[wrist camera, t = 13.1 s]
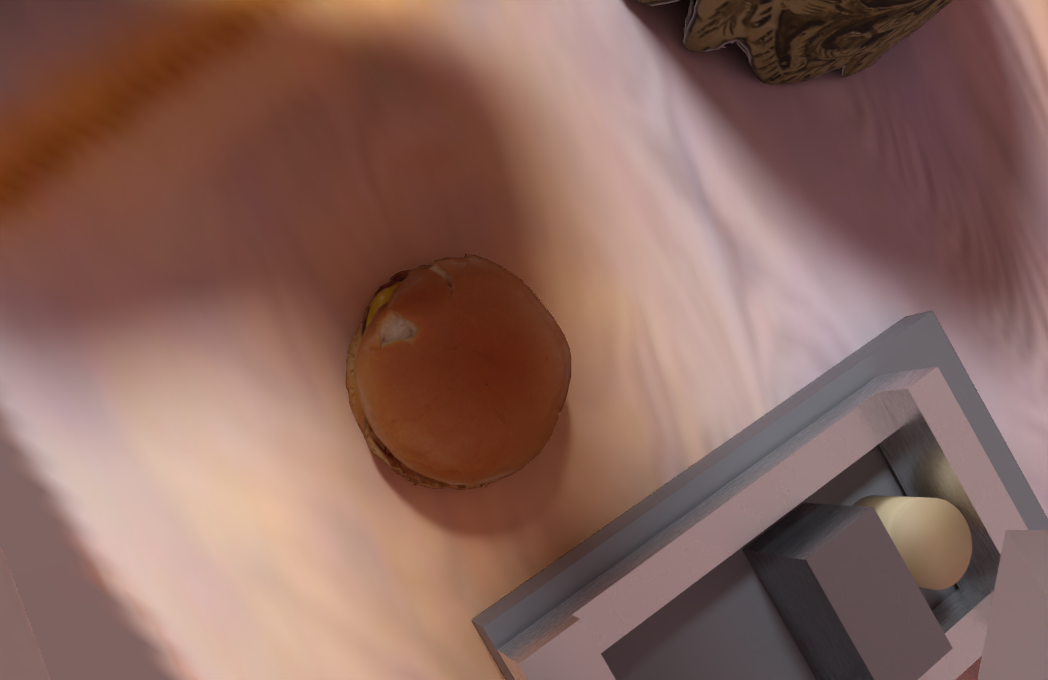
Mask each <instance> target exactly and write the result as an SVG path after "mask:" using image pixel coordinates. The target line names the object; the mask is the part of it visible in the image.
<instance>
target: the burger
mask: <svg viewBox="0 0 1048 680" xmlns="http://www.w3.org/2000/svg"><path fill="white" fill-rule="evenodd" d="M361 323H362V325H361V326H360V327H359V329H358V330H357V331H356V333H355V335H354V337H353V340H352V342H351V345H350V347H349V351H348V357H347V373H346V388H347V389H348V390H349V403H350V406H351V409H352V412H353V414H354V416H355V418H356V420H357V422H358V424H359V426H360V428H361V429H362V431H363V435H364V438H365V440H366V442H367V444H368V446H369V447H370V449H371V450H372V452H373V453H374V454H375V455H377V456H378V457H379V458H381V459H382V460H383V461H385V463H386V464H387V465H388V466H389V467H390V468H391V469H392V470H393V469H394V470H395V472H396V473H397V474H400V475H402V476H403V477H405V478H407V480H408V481H411V482H413V483H414V484H415V485H417V484H418V485H421V486H426V487H431V488H446V487H452V488H456V489H459V490H462V489H471V488H475V487H482V486H483V485H484V486H485V487H487V485H488V484H489V483H492V482H495V481H496V480H498V479H501V478H504V477H507V476H509V475H511V474H513V473H515V472H516V471H518V470H520V469H521V468H523V467H524V466H525V465H526V464H527V463H529V462H530V461H531V460H532V459H533V458H534V457H536V456H537V455H538V454H539V453H540V451H541V450H542V449H543V447H544V446H545V444H546V443H547V441H548V440H549V438H550V436H551V435H552V432H553V430H554V427H555V425H556V422H557V420H558V413H559V412H560V411H561V410H562V407H563V405H564V402H565V399H566V396H567V392H568V387H569V383H570V378H571V354H570V348H569V346H568V343H567V341H566V338H565V336H564V334H563V332H562V330H561V329H560V327H559V325H558V324H557V322H556V321H555V319H554V318H553V317H552V315H551V314H550V313H549V311H548V310H547V309H546V308H545V307H544V305H543V304H542V303H541V302H540V300H539V299H538V298H537V297H536V295H535V294H534V293H533V292H532V291H531V289H530V288H529V287H528V286H526V285H525V284H524V283H523V281H522V280H521V279H519V278H518V277H516V276H515V275H513V274H512V273H510V272H509V271H507V270H506V269H504V268H503V267H501V266H499V265H497V264H495V263H493V262H491V261H489V260H487V259H484V258H481V257H478V256H475V255H469V254H465V257H464V258H443V259H439V260H435V261H434V264H433V266H426V265H423V266H420V267H417V268H415V269H413V270H407V271H401V272H399V273H397V274H395V275H394V276H393V277H391V278H390V282H388V283H387V284H385V285H383V286H381V287H380V288H379V289H378V291H377V292H376V294H375V296H374V298H373V300H372V302H371V304H370V305H369V306H368V307H367V308H366V309H365V313H364V316H363V321H362V322H361Z"/></svg>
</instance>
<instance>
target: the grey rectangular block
mask: <svg viewBox="0 0 1048 680" xmlns="http://www.w3.org/2000/svg"><path fill="white" fill-rule="evenodd" d="M742 550H743V552H744V554H745V556H746V557H747V559H748V561H749V563H750V564H751V566H752V568H753V570H754V571H755V573H756V575H757V577H758V578H759V580H760V582H761V584H762V585H763V587H764V589H765V591H766V592H767V594H768V596H769V598H770V600H771V601H772V603H773V605H774V607H775V608H776V610H777V612H778V614H779V615H780V617H781V619H782V621H783V622H784V624H785V626H786V628H787V629H788V631H789V633H790V635H791V636H792V638H793V640H794V642H795V643H796V645H797V647H798V649H799V650H800V652H801V654H802V656H803V657H804V659H805V661H806V663H807V665H808V666H809V668H810V670H811V672H812V673H813V675H814V677H815V679H817V680H918V679H919V678H920V677H921V676H922V675H923V674H925V673H926V672H927V671H928V670H929V669H930V668H931V667H932V666H934V665H935V664H936V663H937V662H938V661H939V660H940V659H941V658H943V657H944V656H945V655H946V654H947V653H948V652H949V651H950V650H951V649H953V648H952V646H951V644H950V642H949V640H948V639H947V637H946V635H945V633H944V632H943V630H942V628H941V626H940V624H939V623H938V621H937V619H936V617H935V616H934V614H933V612H932V610H931V608H930V607H929V605H928V603H927V601H926V600H925V598H924V596H923V594H922V592H921V591H920V589H919V587H918V585H917V583H916V582H915V580H914V578H913V576H912V575H911V573H910V571H909V569H908V567H907V566H906V564H905V562H904V560H903V559H902V557H901V555H900V553H899V551H898V550H897V548H896V546H895V544H894V543H893V541H892V539H891V537H890V535H889V534H888V532H887V530H886V528H885V526H884V525H883V523H882V521H881V519H880V518H879V516H878V514H877V512H876V510H875V509H874V507H863V506H847V505H831V504H815V503H803V504H802V505H801V506H799V507H798V508H797V509H795V510H794V511H793V512H791V513H790V514H789V515H787V516H786V517H785V518H783V519H782V520H781V521H779V522H778V523H777V524H775V525H774V526H773V527H771V528H770V529H769V530H767V531H766V532H765V533H763V534H762V535H761V536H760V537H758V538H757V539H756V540H754V541H753V542H752V543H750V544H749V545H748V546H746V547H745V548H744V549H742Z"/></svg>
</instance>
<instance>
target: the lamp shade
mask: <svg viewBox="0 0 1048 680" xmlns="http://www.w3.org/2000/svg"><path fill="white" fill-rule="evenodd" d="M638 1H640V2H642V3H644V4H647V5H650V6H656V5H660V4H667V3H673V2H676V1H679V0H638ZM951 1H952V0H697V1H696V4H695V6H694V13H693V16H692V18H691V15H692V10H693V5H694V0H690V2H691V4H690V5H689V13H688V16H687V18H686V19H685V27H684V35H685V36H684V41H683V44H684V45H685V47H686V48H687V49H688V50H690V51H700V52H707V51H710V50H718V49H720V48H726V47H722V46H724V45H725V44H728V43H734V41H736V43H737V44H738V46H739V47H740V48H741V49H742V50H743V51H744V52H745V53H746V55H747V57H748V62H749V64H750V65H751V67H752V69H753V70H754V72H755V74H756V75H757V77H758V78H759V79H760V80H761V81H763V82H764V83H768V84H784V83H793V82H800V81H805V80H809V79H813V78H816V77H819V76H821V75H823V74H825V73H828V72H830V71H832V70H835V69H838V68H839V70H840V72H841V76H842V77H845V76H849V75H851V74H854V73H856V72H859V71H861V70H863V69H865V68H867V67H869V66H871V65H872V64H874V63H875V62H876V61H877V60H878V59H879V58H880V57H881V56H882V55H883V54H884V53H885V52H886V51H887V50H889V49H890V48H891V47H893V46H894V45H895V44H896V43H898V42H899V41H901V40H902V39H904V38H905V37H907V36H909V35H910V34H911V33H913V32H915V31H916V30H918V29H919V28H920V27H921V26H922V25H923V24H924V23H925V22H927V21H928V20H929V19H930V18H932V17H933V16H934V15H935V14H936V13H938V12H939V11H940V10H941V9H943V8H944V7H945V6H946V5H947V4H949V3H950V2H951ZM690 19H691V21H690ZM689 22H690V23H689Z"/></svg>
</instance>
